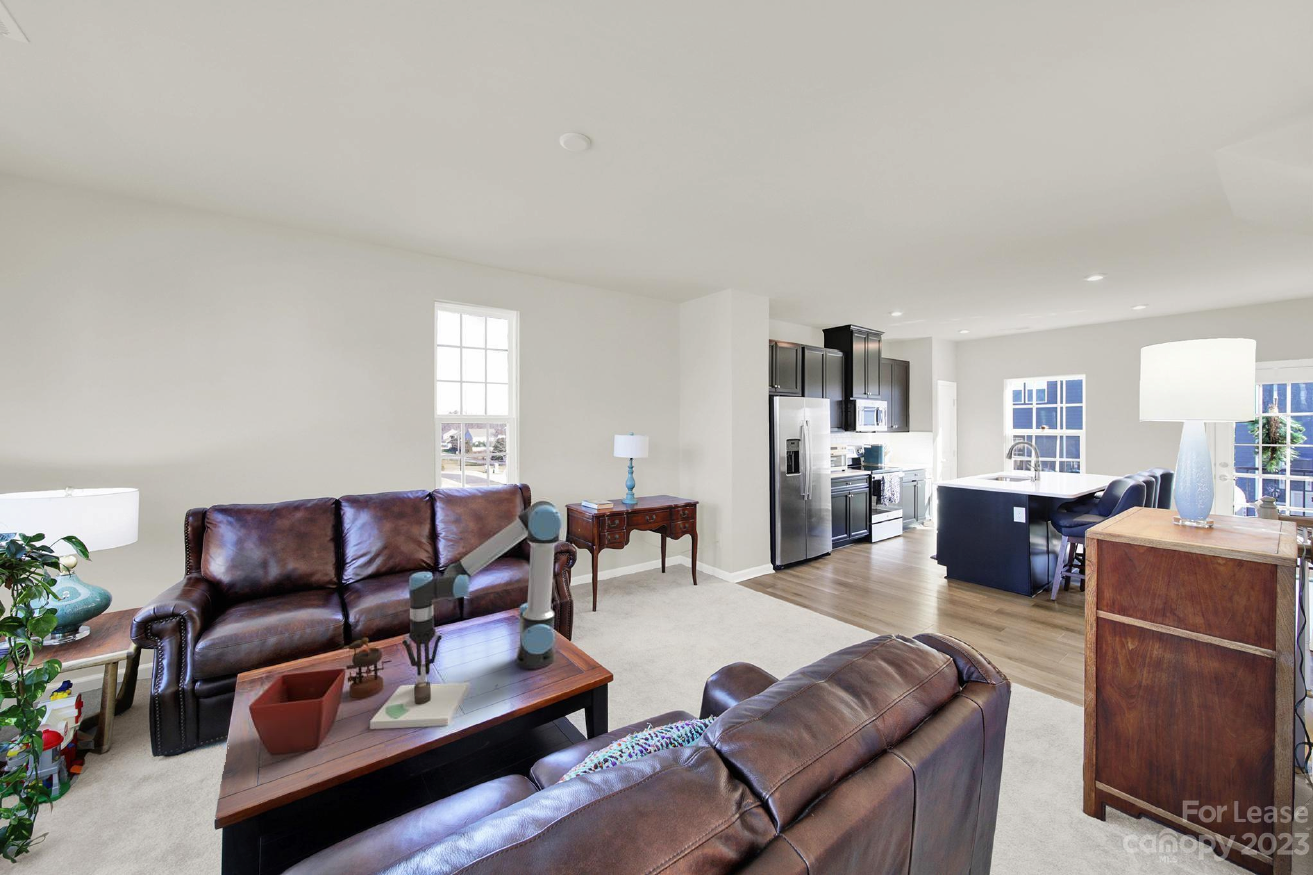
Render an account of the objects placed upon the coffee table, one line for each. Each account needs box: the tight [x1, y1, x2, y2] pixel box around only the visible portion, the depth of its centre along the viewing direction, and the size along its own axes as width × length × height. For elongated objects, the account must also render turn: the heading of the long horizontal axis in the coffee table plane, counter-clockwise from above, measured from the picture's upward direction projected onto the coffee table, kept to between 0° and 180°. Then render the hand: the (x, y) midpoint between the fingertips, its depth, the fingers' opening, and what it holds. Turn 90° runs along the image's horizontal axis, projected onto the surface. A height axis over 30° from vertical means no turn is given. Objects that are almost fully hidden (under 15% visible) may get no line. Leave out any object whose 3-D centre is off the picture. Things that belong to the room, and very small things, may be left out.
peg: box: [414, 678, 431, 704], centre depth 178 cm, size 14×5×5 cm, turn 33°
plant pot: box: [248, 667, 347, 756], centre depth 158 cm, size 19×19×17 cm
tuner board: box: [369, 682, 470, 730], centre depth 175 cm, size 24×22×3 cm
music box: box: [342, 637, 392, 700], centre depth 186 cm, size 15×11×20 cm
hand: (423, 683), depth 183 cm, fingers closed
